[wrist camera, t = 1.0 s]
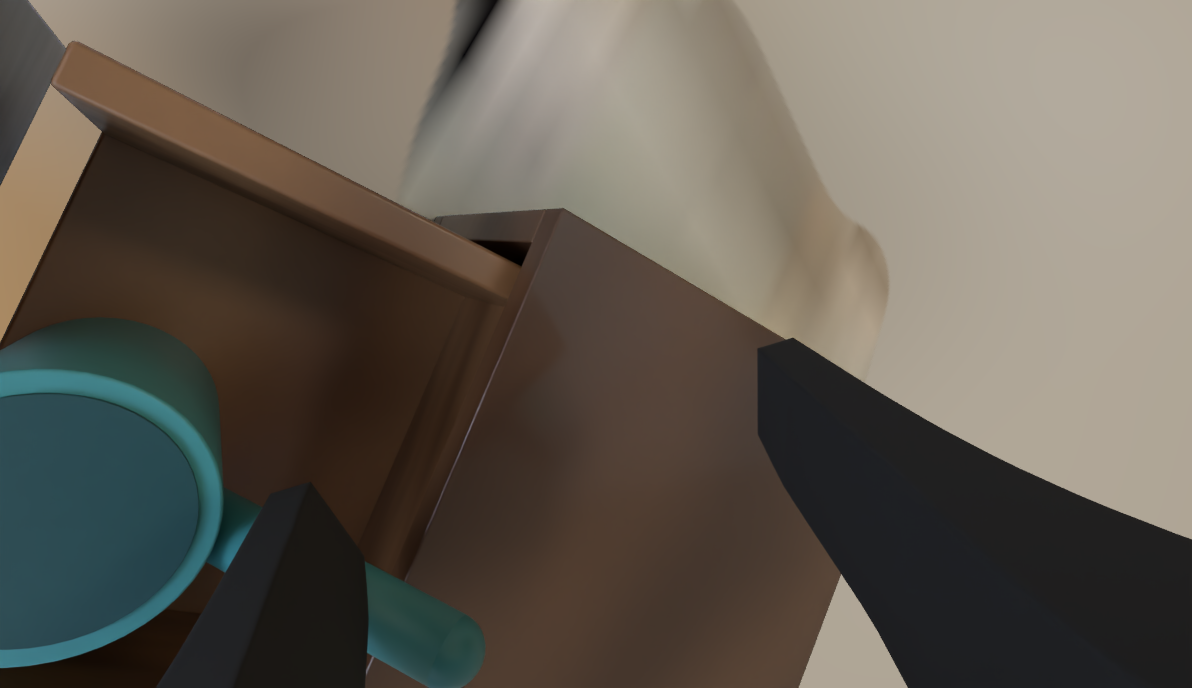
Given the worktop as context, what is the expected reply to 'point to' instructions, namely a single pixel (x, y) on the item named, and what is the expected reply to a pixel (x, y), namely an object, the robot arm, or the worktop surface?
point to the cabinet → (614, 484)
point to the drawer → (252, 308)
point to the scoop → (145, 503)
